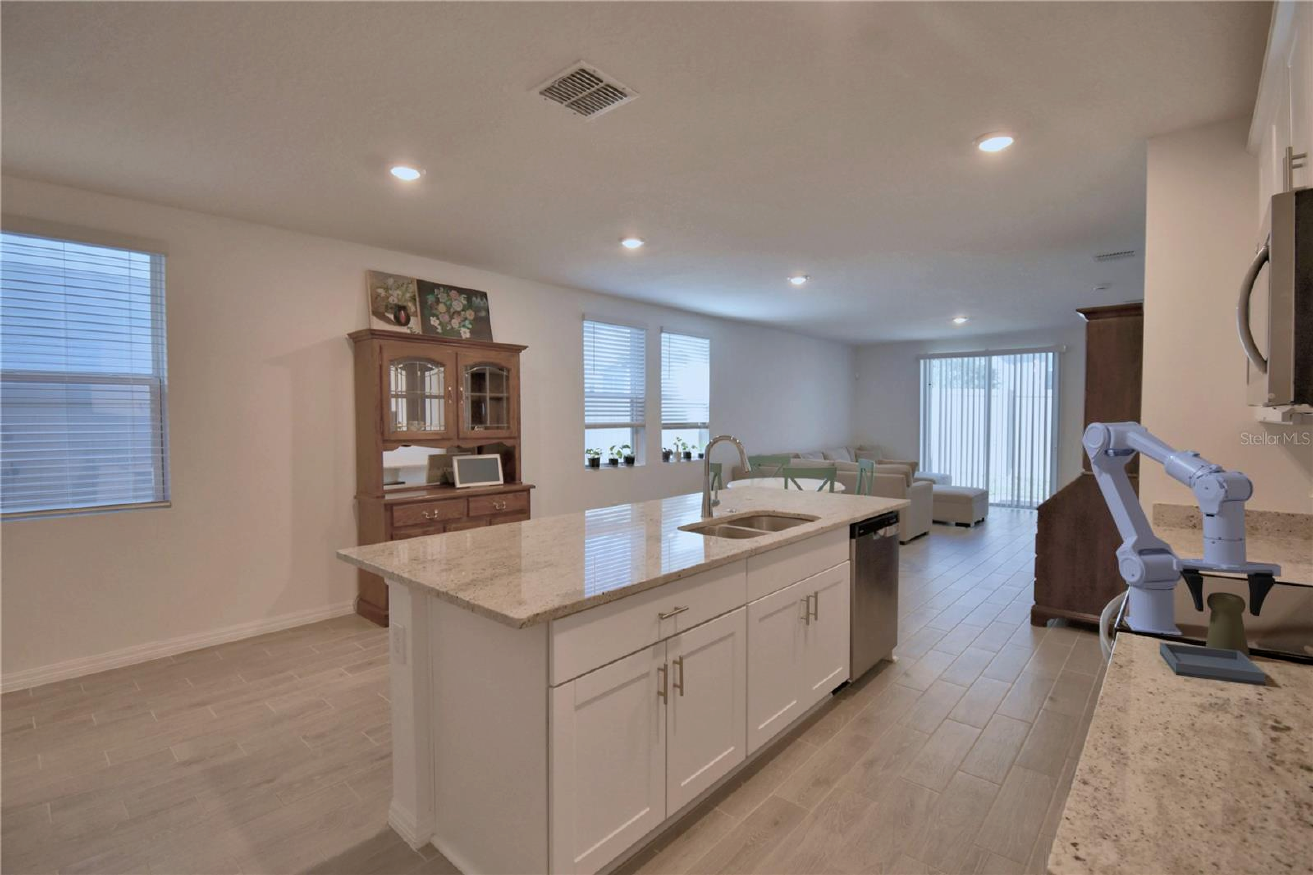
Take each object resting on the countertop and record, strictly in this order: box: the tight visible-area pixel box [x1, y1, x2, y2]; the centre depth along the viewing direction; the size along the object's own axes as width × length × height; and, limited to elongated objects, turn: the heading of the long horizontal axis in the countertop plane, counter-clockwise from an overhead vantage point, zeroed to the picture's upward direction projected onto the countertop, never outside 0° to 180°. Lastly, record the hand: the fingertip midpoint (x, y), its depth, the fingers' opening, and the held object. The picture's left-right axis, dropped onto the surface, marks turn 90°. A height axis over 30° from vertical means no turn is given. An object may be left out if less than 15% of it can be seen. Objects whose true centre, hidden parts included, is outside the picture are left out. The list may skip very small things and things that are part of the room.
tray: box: [1159, 642, 1266, 687], centre depth 106 cm, size 11×11×2 cm
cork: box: [1205, 592, 1251, 660], centre depth 113 cm, size 6×6×11 cm
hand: (1226, 612), depth 113 cm, fingers open, 7 cm apart
